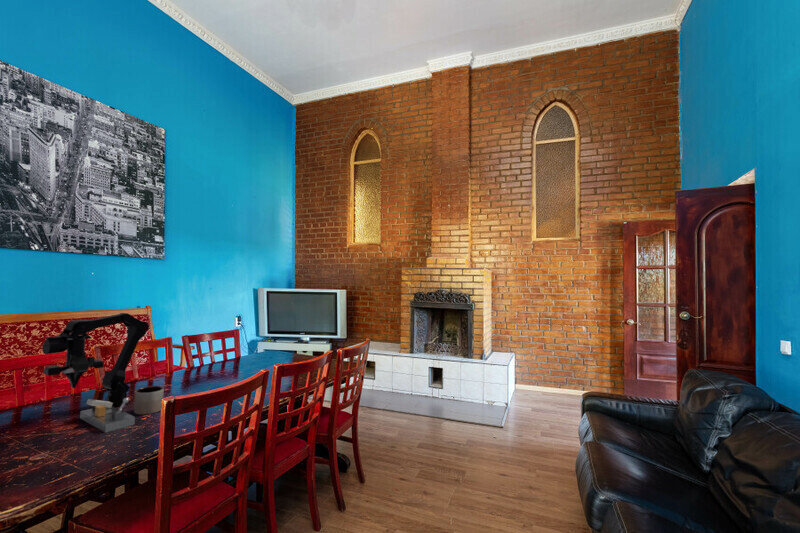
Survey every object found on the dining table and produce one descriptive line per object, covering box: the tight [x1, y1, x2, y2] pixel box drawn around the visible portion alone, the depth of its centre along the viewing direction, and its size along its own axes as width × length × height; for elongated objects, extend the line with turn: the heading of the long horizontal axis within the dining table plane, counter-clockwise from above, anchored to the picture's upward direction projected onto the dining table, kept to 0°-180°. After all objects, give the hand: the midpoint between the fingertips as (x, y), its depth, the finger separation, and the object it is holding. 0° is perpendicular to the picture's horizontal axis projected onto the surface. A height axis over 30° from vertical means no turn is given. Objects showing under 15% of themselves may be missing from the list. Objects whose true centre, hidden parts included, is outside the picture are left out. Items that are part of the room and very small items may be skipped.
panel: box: [79, 405, 136, 433], centre depth 158 cm, size 10×24×5 cm, turn 58°
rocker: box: [86, 398, 113, 408], centre depth 162 cm, size 8×4×2 cm, turn 148°
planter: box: [133, 385, 165, 416], centre depth 171 cm, size 11×11×10 cm
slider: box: [95, 405, 106, 417], centre depth 155 cm, size 2×3×4 cm
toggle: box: [114, 397, 130, 416], centre depth 154 cm, size 2×2×8 cm
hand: (73, 387), depth 162 cm, fingers closed
